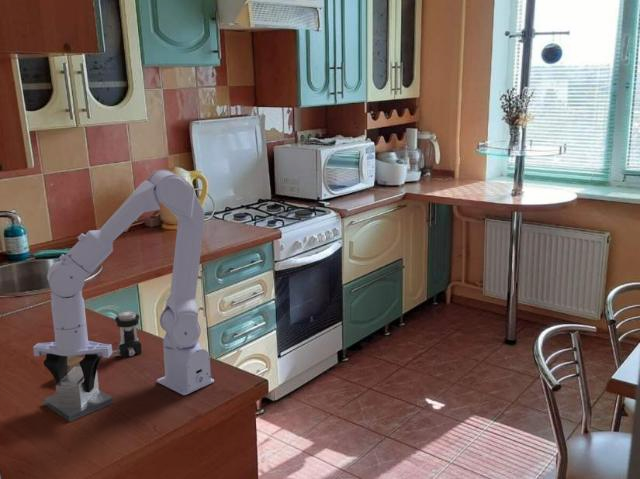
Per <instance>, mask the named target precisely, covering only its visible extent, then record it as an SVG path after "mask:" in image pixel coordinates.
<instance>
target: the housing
mask: <svg viewBox="0 0 640 479" xmlns="http://www.w3.org/2000/svg"><path fill="white" fill-rule="evenodd" d="M99 388H100V387H99V376H98V370H97V371H96V376H95V381H94V388H93V389H92V390H91V392H86V390H85V382H84V375H83V372H82V369H81V367H74V368H73V369H72V370H71V371H70V372H69V373H68V374H67V375H66V376H65V377H64V378H63V379H62V380H61V381H60V382H59V383H58V384H57V383H56V384H55V391H56V393H55V394H57V401H58V407H70V408H82V407H83V405H84V404H85V403H86V402H87V401H88V400H89V398H90V397H91V396H92V395H93V394H94V393H95V392H96V390H97V389H99Z"/></svg>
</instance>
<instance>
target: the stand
mask: <svg viewBox="0 0 640 479" xmlns="http://www.w3.org/2000/svg"><path fill="white" fill-rule="evenodd" d="M113 404H114V397H113V396H112V395H109V394H107V393H106V392H104V391H102V390H101V389H99V388H98V389H97V390H96V392H95V393H94V394H93V395H92V396H91V397H90V398H89V400H88V401H87V402H86V403H85V404H84V405H83V407H82V408H70V407H58V401H57V393H55V394H53V395H50V396H48V397H45V398H43V405H44V406H46V407H47V408H49V409H50V410H52V411H53V412H55V413H56V414H58V415H59V416H60V417H62V418H63V419H65V420H66V421H67V422H69V423H70V422H73V421H76V420H78V419H80V418H83V417H84V416H87V415H90V414H92V413H95V412H96V411H98V410H101V409H104V408H106V407H109V406H110V405H113Z"/></svg>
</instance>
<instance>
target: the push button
mask: <svg viewBox="0 0 640 479" xmlns="http://www.w3.org/2000/svg"><path fill="white" fill-rule="evenodd" d="M114 320H115V322H116V326H117V327H119V334H120V335H119V336H120V342H119V344H118V345H117V346H118V349H116V350H112V354H111V356H112V357H116V356H120V357H121V358H125V357H129V356H130V357H131V356H132V357H133V356H134V355H141V354H142V353H143V352H142V351H143V350H142V343H141V342H140V341H139V338H138V332H137V325H138V324H139V320H140V315H139V314H137V313H136V312H135V311H133V310H124V311H120V312H119V313H118V315H117V316H116V317H115V318H114Z"/></svg>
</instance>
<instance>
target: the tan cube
mask: <svg viewBox="0 0 640 479" xmlns="http://www.w3.org/2000/svg"><path fill="white" fill-rule="evenodd" d="M83 358H84V357H82V356H67V374H68V373H69V372H70V371H71V370H72V369H73V368H74V367H81V366H80V361H81V360H82V359H83Z"/></svg>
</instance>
